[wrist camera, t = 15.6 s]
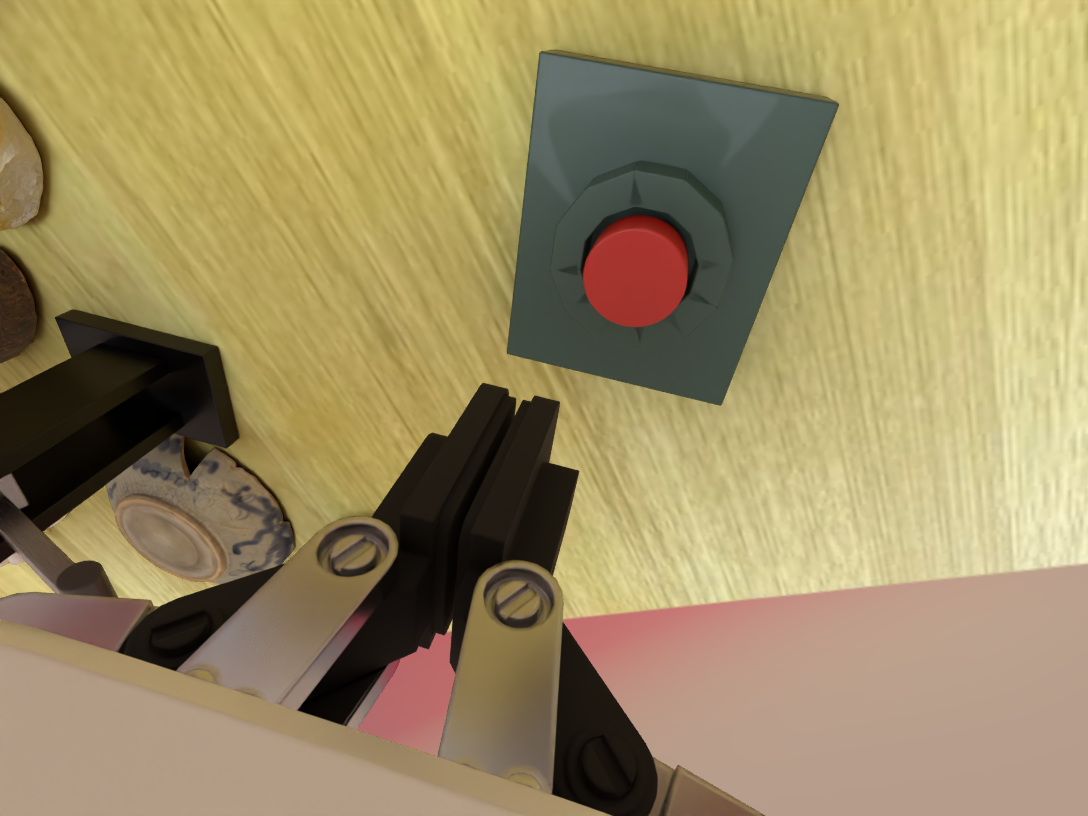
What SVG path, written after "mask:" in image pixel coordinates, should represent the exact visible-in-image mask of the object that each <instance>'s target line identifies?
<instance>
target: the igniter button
mask: <svg viewBox="0 0 1088 816" xmlns="http://www.w3.org/2000/svg"><path fill="white" fill-rule="evenodd" d="M688 264H689V260H688V252H687V248H686V245H685V243H684V241H683V239H682V237H681V236H680V234H679V233H678V232H677V231H676V230H675V229H674V228H673V227H672V226H671V225H670V224H668V223H667V222H665V221H663V220H661V219H659V218H656V217H653V216H648V215H632V216H627V217H624V218H621V219H619V220H617V221H615V222H613V223H612V224H610V225H609V226H608V227H607V228H606V229H605V230H604V231H603V232H602V233H601V234H600V235H599V237H598V238H597V240H596V242H595V244H594V246H593V247H592V249H591V251H590V253H589V255H588V257H587V259H586V262H585V266H584V271H583V283H584V289H585V292H586V295H587V297H588V299H589V301H590V303H591V304H592V306H593V307H594V308H595V309H596V310H597V311H598V312H599V313H600V314H601V315H602V316H603V317H605V318H606V319H608V320H609V321H611V322H614V323H616V324H619V325H622V326H628V327H642V326H647V325H651V324H654V323H657V322H659V321H661V320H662V319H664V318H666V317H667V316H668V315H670V314H671V313H672V312H673V311H674V310H675V309H676V307H677V306H678V305H679V303H680V302H681V300H682V298H683V296H684V293H685V290H686V286H687V277H688Z"/></svg>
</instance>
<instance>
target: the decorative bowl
mask: <svg viewBox="0 0 1088 816" xmlns="http://www.w3.org/2000/svg"><path fill="white" fill-rule="evenodd" d="M107 492H108V497H109V500H110V503H111V506H112V508H113V510H114V512H115V517H116V522H117V525H118V527H119V529H120V531H121V533H122V534H123V536H124V537H125V538H126V540H127V541H128V542H129V543H130V544H131V545H132V546H133V547H134V548H135V549H136V550H137V551H138V552H139V553H140V554H141V555H142V556H143V557H144V558H146V559H147V560H148V561H150V562H151V563H153V564H154V565H156V566H157V567H159V568H161V569H162V570H164V571H166V572H168V573H170V574H173V575H175V576H178V577H180V578H183V579H186V580H190V581H195V582H212V583H219V584H224V583H227V582H230V581H233V580H236V579H239V578H242V577H245V576H248V575H251V574H254V573H257V572H260V571H263V570H267V569H270V568H273V567H276V566H279V565H281V564H282V563H283V561H284V560H285V559H286V558H287V557H288V556H289V555H290V553H291V552H292V551H293V549H294V546H295V545H294V536H293V533H292V529H291V527H290V523H289V522H283V514H282V511H281V510H280V508H279V504H278V502H277V501H276V500H275V498H274V497H273V496H272V495H271V494H270V493H269V492H268V491H267V490H266V489H265V488H264V487H263V486H262V485H261V483H260V482H259V481H258V480H257V478H256V477H255V476H254V475H250V474H249V473H248V472H246V471H245V470H244V469H243V468H239V467H236V463H235V461H233V460H232V459H231V458H230V457H228V456H227V455H226V454H224V453H222V452H220V451H219V450H217V449H216V448H214V449H212V451H210V452H209V453H208V454H207V455H206V457H205V458H204V459H203V460H202V462H201V463H200V464H199V465H198V466H197V468H196V469H195V470H194V472H193V473H192V474H191V475H190V473H189V470H188V468H187V465H186V461H185V457H184V436H181V435H177V434H173V435H172V436H170V437H169V438H168V439H166V440H165V441H164V442H162V443H161V444H160V445H158V446H157V447H156V448H154V449H153V450H152V451H150V452H149V453H148V454H146V455H145V456H144V457H142V458H141V459H140V460H138V461H137V462H136V463H134V464H133V465H132V466H130V467H129V468H128V469H126V470H125V471H124V472H122V473H121V474H120V475H118V476H117V477H116V478H114V479H113V480H112V481H110V482H109V483H108V484H107Z"/></svg>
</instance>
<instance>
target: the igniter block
mask: <svg viewBox="0 0 1088 816" xmlns="http://www.w3.org/2000/svg"><path fill="white" fill-rule="evenodd" d="M838 106H839V103H837V102H835V101H833V100H831V99H830V98H828V97H824V96H819V95H813V94H807V93H801V92H796V91H790V90H784V89H778V88H773V87H767V86H761V85H755V84H749V83H744V82H738V81H732V80H726V79H721V78H715V77H709V76H703V75H697V74H692V73H686V72H680V71H674V70H669V69H663V68H657V67H651V66H645V65H640V64H634V63H628V62H622V61H617V60H611V59H605V58H599V57H594V56H588V55H582V54H576V53H570V52H565V51H559V50H548V51H541V52H540V53H539V62H538V71H537V80H536V89H535V98H534V107H533V117H532V126H531V135H530V144H529V153H528V163H527V172H526V181H525V190H524V199H523V208H522V218H521V227H520V236H519V245H518V254H517V264H516V273H515V282H514V291H513V300H512V309H511V319H510V328H509V337H508V346H507V354H510V355H514V356H518V357H522V358H526V359H531V360H535V361H539V362H543V363H547V364H551V365H555V366H559V367H563V368H568V369H572V370H576V371H580V372H584V373H588V374H592V375H596V376H600V377H605V378H609V379H613V380H617V381H621V382H625V383H629V384H633V385H638V386H642V387H646V388H650V389H654V390H658V391H662V392H666V393H670V394H675V395H679V396H683V397H687V398H691V399H695V400H699V401H703V402H707V403H712V404H716V405H722V403H723V400H724V398H725V395H726V393H727V390H728V388H729V385H730V383H731V380H732V377H733V375H734V372H735V370H736V367H737V365H738V362H739V359H740V357H741V354H742V352H743V349H744V347H745V344H746V342H747V339H748V336H749V334H750V331H751V329H752V326H753V324H754V321H755V319H756V316H757V313H758V311H759V308H760V306H761V303H762V301H763V298H764V296H765V293H766V290H767V288H768V285H769V283H770V280H771V278H772V275H773V273H774V270H775V267H776V265H777V262H778V260H779V257H780V255H781V252H782V250H783V247H784V244H785V242H786V239H787V237H788V234H789V232H790V229H791V227H792V224H793V221H794V219H795V216H796V214H797V211H798V209H799V206H800V204H801V201H802V198H803V196H804V193H805V191H806V188H807V186H808V183H809V181H810V178H811V175H812V173H813V170H814V168H815V165H816V163H817V160H818V158H819V155H820V152H821V150H822V147H823V145H824V142H825V140H826V137H827V135H828V132H829V129H830V127H831V124H832V122H833V119H834V117H835V114H836V112H837V109H838ZM632 215H648V216H653V217H656V218H659V219H661V220H663V221H665V222H667V223H668V224H670V225H671V226H672V227H673V228H674V229H675V230H676V231H677V232H678V233H679V234H680V236H681V237H682V239H683V241H684V243H685V245H686V248H687V252H688V260H689V264H688V277H687V286H686V290H685V293H684V296H683V298H682V300H681V302H680V303H679V305H678V306H677V307H676V309H675V310H674V311H673V312H672V313H671V314H670V315H668V316H667V317H666V318H664V319H662V320H661V321H659V322H657V323H654V324H651V325H647V326H642V327H628V326H622V325H619V324H616V323H614V322H611V321H609V320H608V319H606V318H605V317H603V316H602V315H601V314H600V313H599V312H598V311H597V310H596V309H595V308H594V307H593V306H592V304H591V303H590V301H589V299H588V297H587V295H586V292H585V289H584V283H583V271H584V266H585V262H586V259H587V257H588V255H589V253H590V251H591V249H592V247H593V246H594V244H595V242H596V240H597V238H598V237H599V235H600V234H601V233H602V232H603V231H604V230H605V229H606V228H607V227H608V226H609V225H610V224H612V223H613V222H615V221H617V220H619V219H621V218H624V217H627V216H632Z"/></svg>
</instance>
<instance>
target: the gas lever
mask: <svg viewBox="0 0 1088 816" xmlns="http://www.w3.org/2000/svg"><path fill="white" fill-rule="evenodd" d="M28 505H29V502H28V500H27V498H26V497H25V495H24V493H23V491H22V490H21V488H20V486H19V484H18V482H17V481H16V479H15V477H14V475H13V474H12V473H9V474H8V475H6V476H4V477H3V478H1V479H0V536H1V537H2V538H3V539H4V540H5V541H6V542H7V543H8V544H9V545H10V546H11V547H12V548H13V549H14V550H15V551H16V552H17V553H18V555H19V556H20V557H21V558H22V559H23V560H24V561H25V562H26V563H27V564H28V565H29V566H30V567H31V568H32V569H33V570H34V571H35V572H36V573H37V574H38V575H39V576H40V577H41V579H42V580H43V581H44V582H45V583H46V584H47V585H48V586H49V587H50V588H51V589H52V590H53V591H54V592H55V593H56V594H71V595H85V596H100V597H115V598H118V596H117V594H116V592H115V590H114V589H113V587H112V585H111V583H110V581H109V579H108V577H107V575H106V573H105V571H104V569H103V567H102V565H101V564H100V563H98V562H96V561H82V562H78V563H74V562H73V561H72V560H71V559H70V558H69V557H68V556H67V555H66V554H65V553H64V552H63V551H62V550H61V549H59V548H58V547H57V546H56V545H55V544H54V543H53V542H52V541H51V540H50V539H49V538H48V537H47V536H46V535H45V534H44V533H43V532H42V531H41V530H40V529H39V528H38V527H37V526H36V525H35V524H34V523H33V522H32V521H31V520H30V519H29V518H28V517H27V516H26V515H25V514H24V513H23V512H22V511H21V510H20V509H22V508H24V507H27V506H28Z"/></svg>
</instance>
